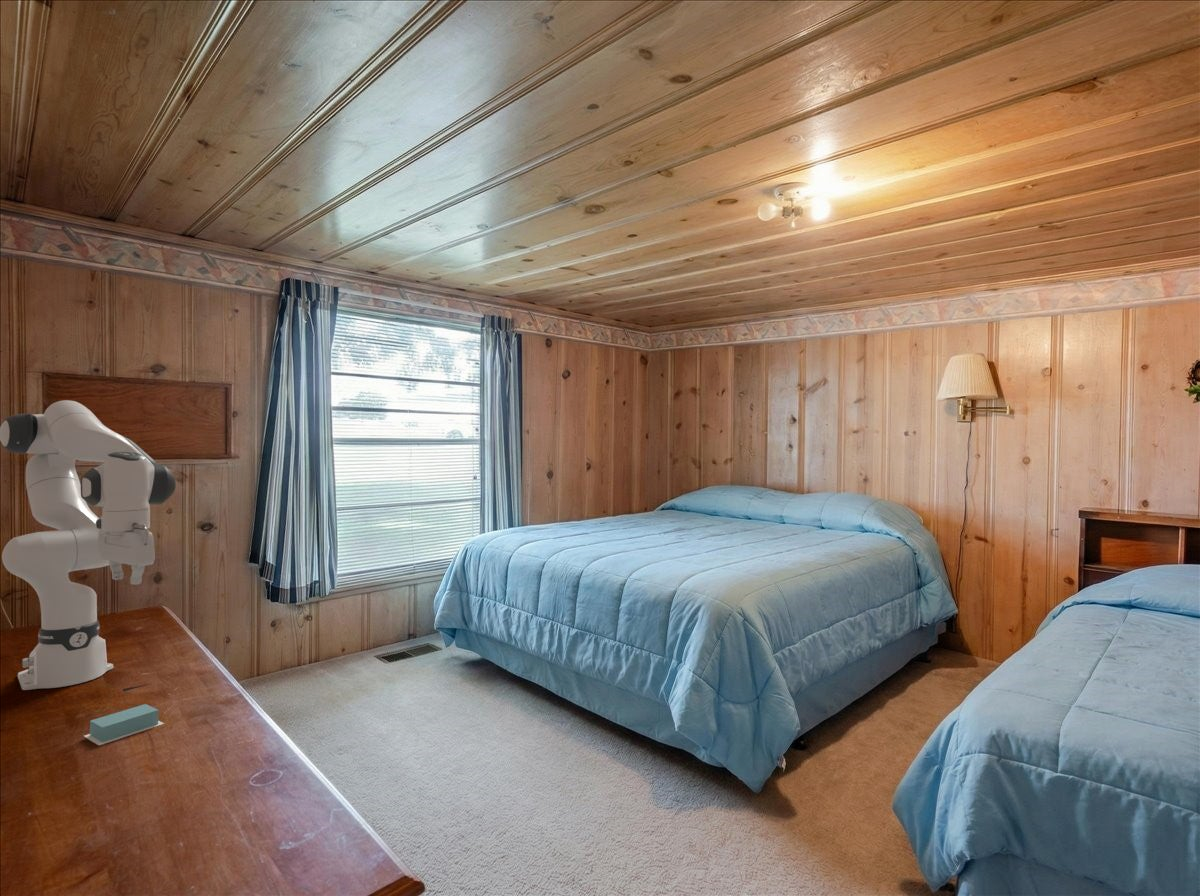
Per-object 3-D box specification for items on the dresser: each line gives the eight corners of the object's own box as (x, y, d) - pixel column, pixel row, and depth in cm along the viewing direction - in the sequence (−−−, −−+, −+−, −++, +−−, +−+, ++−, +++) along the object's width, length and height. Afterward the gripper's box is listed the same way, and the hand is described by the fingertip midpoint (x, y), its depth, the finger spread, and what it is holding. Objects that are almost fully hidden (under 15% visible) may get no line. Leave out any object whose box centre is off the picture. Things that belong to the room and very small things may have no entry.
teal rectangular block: (145, 717, 138) (145, 703, 138) (158, 723, 134) (158, 709, 134) (90, 735, 129) (90, 720, 129) (102, 742, 126) (102, 727, 126)
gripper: (163, 523, 142) (163, 584, 142) (123, 518, 153) (123, 574, 153) (130, 526, 137) (130, 589, 137) (92, 520, 148) (92, 579, 148)
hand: (126, 581), depth 145 cm, fingers open, 8 cm apart
